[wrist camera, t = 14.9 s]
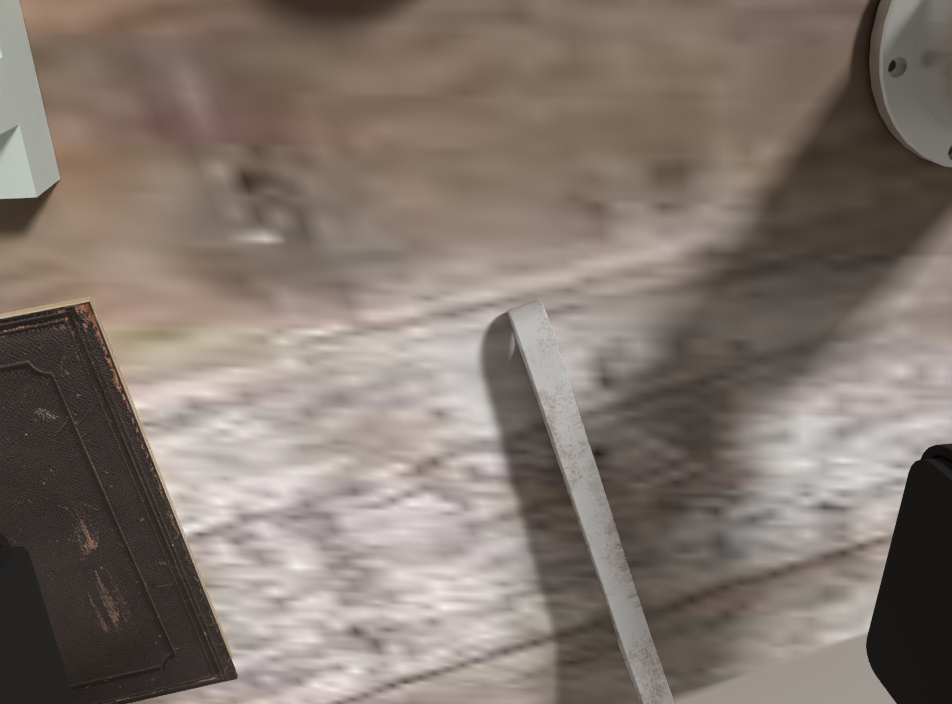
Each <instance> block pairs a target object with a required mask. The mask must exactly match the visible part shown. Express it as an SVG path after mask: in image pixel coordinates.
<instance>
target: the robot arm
mask: <svg viewBox="0 0 952 704" xmlns="http://www.w3.org/2000/svg"><path fill="white" fill-rule="evenodd" d="M889 64H890V66H889ZM869 68H870V78H871V88H872V92H873V95H874V99H875V102H876V105H877V108H878V112H879V114H880V115H881V117H882V119H883V121H884V122H885V124H886V126H887V128H888V129H889V131H890V132H891V133H892V134H893V136H894V137H895V138H896V139H897V140H898V141H899V142H900V143H901V144H902V145H903V146H904V147H905V148H907V149H908V150H910V151H911V152H913V153H915V154H916V155H918V156H919V157H921V158H923V159H926V160H929V161H931V162H934V163H937V164H939V165H942V166H946V167H951V168H952V0H881V1H880V4H879V6H878V9H877V14H876V18H875V22H874V26H873V30H872V34H871V44H870V57H869ZM866 648H867V655H868V659H869V662H870V665H871V667H872V669H873V671H874V673H875V675H876V676H877V678H878V679H879V680H880V682H881V683H882V684H883V686H884V687H885V688H886V690H887V691H888V692H889V694H890V695H891V696H892V698H893V699H894V700H895V702H896V703H897V704H952V444H942V445H935V446H932V447H929V448H928V449H927V450H926V451H925V452H924V453H923V455H922V458H921V460H919V461H916V462H915V463H914V464H913V465H912V466H911V469H910V471H909V474H908V478H907V482H906V486H905V490H904V494H903V498H902V502H901V506H900V510H899V514H898V517H897V521H896V525H895V529H894V533H893V537H892V541H891V545H890V549H889V553H888V557H887V561H886V565H885V569H884V573H883V577H882V581H881V585H880V589H879V593H878V597H877V601H876V605H875V609H874V613H873V617H872V620H871V624H870V628H869V632H868V636H867V643H866ZM0 704H75V701H74V697H73V694H72V691H71V688H70V684H69V681H68V678H67V675H66V671H65V668H64V665H63V661H62V658H61V655H60V652H59V648H58V645H57V642H56V639H55V635H54V632H53V629H52V626H51V622H50V619H49V616H48V613H47V609H46V606H45V603H44V599H43V596H42V593H41V590H40V586H39V583H38V580H37V577H36V573H35V570H34V567H33V564H32V560H31V557H30V555H29V553H28V551H27V550H26V549H25V547H23V546H12V547H11V545H10V543H9V541H8V540H7V538H6V537H5V536H4V535H3V534H0Z"/></svg>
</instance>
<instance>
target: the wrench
mask: <svg viewBox="0 0 952 704" xmlns="http://www.w3.org/2000/svg"><path fill="white" fill-rule="evenodd" d="M507 313H508V317H509V320H510V323H511V326H512V329H513V332H514V335H515V338H516V341H517V344H518V347H519V350H520V353H521V356H522V359H523V362H524V365H525V367H526V370H527V373H528V376H529V379H530V382H531V385H532V388H533V391H534V394H535V397H536V400H537V403H538V406H539V408H540V411H541V414H542V417H543V420H544V423H545V426H546V429H547V432H548V435H549V438H550V441H551V444H552V447H553V449H554V452H555V455H556V458H557V461H558V464H559V467H560V470H561V473H562V476H563V479H564V482H565V485H566V488H567V491H568V494H569V496H570V499H571V502H572V505H573V508H574V511H575V514H576V517H577V520H578V523H579V526H580V529H581V532H582V535H583V537H584V540H585V543H586V546H587V549H588V552H589V555H590V558H591V561H592V564H593V567H594V570H595V573H596V576H597V579H598V581H599V584H600V587H601V590H602V593H603V596H604V599H605V602H606V605H607V608H608V611H609V614H610V617H611V620H612V623H613V627H614V630H615V633H616V637H617V644H618V646H619V649H620V651H621V654H622V656H623V660H624V662H625V664H626V667H627V669H628V672H629V675H630V677H631V680H632V683H633V685H634V687H635V690H636V692H637V695H638V698H639V700H640V703H641V704H675V701H674V699H673V696H672V693H671V691H670V688H669V685H668V682H667V679H666V676H665V674H664V671H663V668H662V665H661V662H660V660H659V657H658V654H657V651H656V648H655V645H654V643H653V640H652V637H651V634H650V631H649V628H648V625H647V622H646V619H645V615H644V612H643V609H642V606H641V603H640V600H639V597H638V594H637V591H636V587H635V584H634V581H633V578H632V575H631V572H630V569H629V566H628V563H627V559H626V556H625V553H624V550H623V547H622V544H621V541H620V538H619V535H618V531H617V528H616V525H615V522H614V519H613V516H612V513H611V510H610V507H609V503H608V500H607V497H606V494H605V491H604V488H603V485H602V482H601V479H600V475H599V472H598V469H597V466H596V463H595V460H594V457H593V454H592V451H591V447H590V444H589V441H588V438H587V435H586V432H585V429H584V426H583V423H582V419H581V416H580V413H579V410H578V407H577V404H576V401H575V398H574V395H573V391H572V388H571V385H570V382H569V379H568V376H567V373H566V370H565V367H564V363H563V360H562V357H561V354H560V351H559V348H558V345H557V342H556V339H555V336H554V333H553V330H552V327H551V324H550V321H549V319H548V316H547V314H546V311H545V309H544V307H543V305H542V303H541V301H540V300H536V301H533V302H531V303H528V304H525V305H522V306H519V307H517V308H514V309H511V310H508V312H507Z"/></svg>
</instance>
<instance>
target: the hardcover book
mask: <svg viewBox="0 0 952 704" xmlns="http://www.w3.org/2000/svg"><path fill="white" fill-rule="evenodd" d="M0 534H3V535H4V536H5V537H6V538H7V540H8V541H9V543H10V545H11V547H12V546H23V547H25V549H26V550H27V551H28V553H29V555H30V557H31V560H32V564H33V567H34V570H35V573H36V577H37V580H38V583H39V586H40V590H41V593H42V596H43V599H44V603H45V606H46V609H47V613H48V616H49V619H50V622H51V626H52V629H53V632H54V635H55V639H56V642H57V645H58V648H59V652H60V655H61V658H62V661H63V665H64V668H65V671H66V675H67V678H68V681H69V684H70V688H71V691H72V694H73V697H74V701H75V704H127V703H132V702H136V701H140V700H145V699H149V698H154V697H158V696H163V695H167V694H172V693H176V692H180V691H185V690H189V689H194V688H198V687H203V686H207V685H212V684H216V683H220V682H225V681H229V680H234V679H237V676H238V675H237V672H236V670H235V667H234V665H233V662H232V653H231V650H230V648H229V645H228V642H227V640H226V637H225V635H224V632H223V630H222V627H221V625H220V622H219V620H218V617H217V614H216V612H215V609H214V607H213V604H212V602H211V599H210V597H209V594H208V592H207V589H206V586H205V584H204V581H203V579H202V576H201V574H200V571H199V569H198V566H197V563H196V561H195V558H194V556H193V553H192V551H191V548H190V546H189V543H188V541H187V538H186V535H185V533H184V530H183V528H182V525H181V523H180V520H179V518H178V515H177V513H176V510H175V507H174V505H173V502H172V500H171V497H170V495H169V492H168V490H167V487H166V485H165V482H164V479H163V477H162V474H161V472H160V469H159V467H158V464H157V462H156V459H155V457H154V454H153V451H152V449H151V446H150V444H149V441H148V439H147V436H146V434H145V431H144V429H143V426H142V423H141V421H140V418H139V416H138V413H137V411H136V408H135V406H134V403H133V400H132V398H131V395H130V393H129V390H128V388H127V385H126V383H125V380H124V378H123V375H122V372H121V370H120V367H119V365H118V362H117V360H116V357H115V355H114V352H113V350H112V347H111V344H110V342H109V339H108V337H107V334H106V332H105V329H104V327H103V324H102V322H101V319H100V316H99V314H98V311H97V309H96V306H95V304H94V301H93V299H92V296H89V297H84V298H79V299H74V300H69V301H63V302H58V303H53V304H48V305H43V306H38V307H33V308H28V309H22V310H17V311H12V312H7V313H2V314H0Z"/></svg>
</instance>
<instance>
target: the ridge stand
mask: <svg viewBox="0 0 952 704" xmlns="http://www.w3.org/2000/svg"><path fill="white" fill-rule="evenodd" d="M58 180H60V176H59V171H58V167H57V163H56V158H55V154H54V150H53V145H52V141H51V137H50V132H49V128H48V124H47V119H46V115H45V111H44V106H43V102H42V98H41V93H40V89H39V84H38V80H37V76H36V71H35V67H34V63H33V58H32V54H31V50H30V45H29V41H28V37H27V32H26V28H25V24H24V19H23V15H22V11H21V6H20V2H19V0H0V199H13V198H35V197H38V196H39V195H41V194H42V193H43V192H44V191H46V190H47V189H48V188H49V187H51V186H52V185H53V184H55V183H56V182H57V181H58Z"/></svg>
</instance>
